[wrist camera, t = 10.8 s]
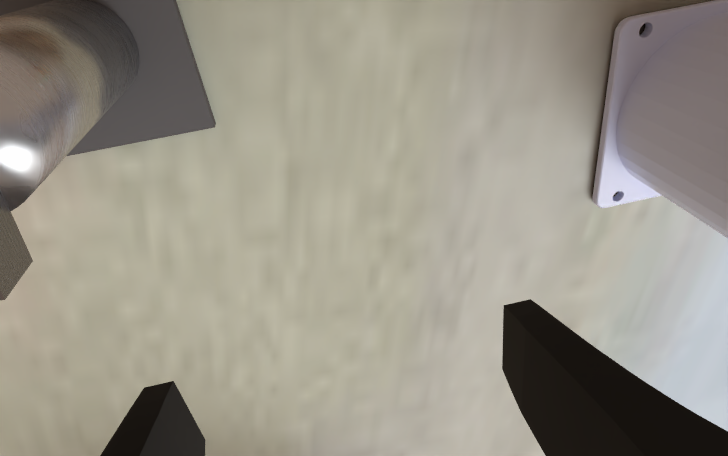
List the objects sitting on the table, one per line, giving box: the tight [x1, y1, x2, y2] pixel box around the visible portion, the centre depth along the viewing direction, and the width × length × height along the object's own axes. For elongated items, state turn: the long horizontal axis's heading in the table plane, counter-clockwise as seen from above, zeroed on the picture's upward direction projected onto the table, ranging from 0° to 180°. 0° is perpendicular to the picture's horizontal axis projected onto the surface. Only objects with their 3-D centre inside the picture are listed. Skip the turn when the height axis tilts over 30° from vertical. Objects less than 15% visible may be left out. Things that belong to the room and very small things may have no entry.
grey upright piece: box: [0, 0, 140, 300], centre depth 11 cm, size 3×5×9 cm, turn 0°
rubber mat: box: [0, 0, 216, 156], centre depth 15 cm, size 6×6×1 cm
